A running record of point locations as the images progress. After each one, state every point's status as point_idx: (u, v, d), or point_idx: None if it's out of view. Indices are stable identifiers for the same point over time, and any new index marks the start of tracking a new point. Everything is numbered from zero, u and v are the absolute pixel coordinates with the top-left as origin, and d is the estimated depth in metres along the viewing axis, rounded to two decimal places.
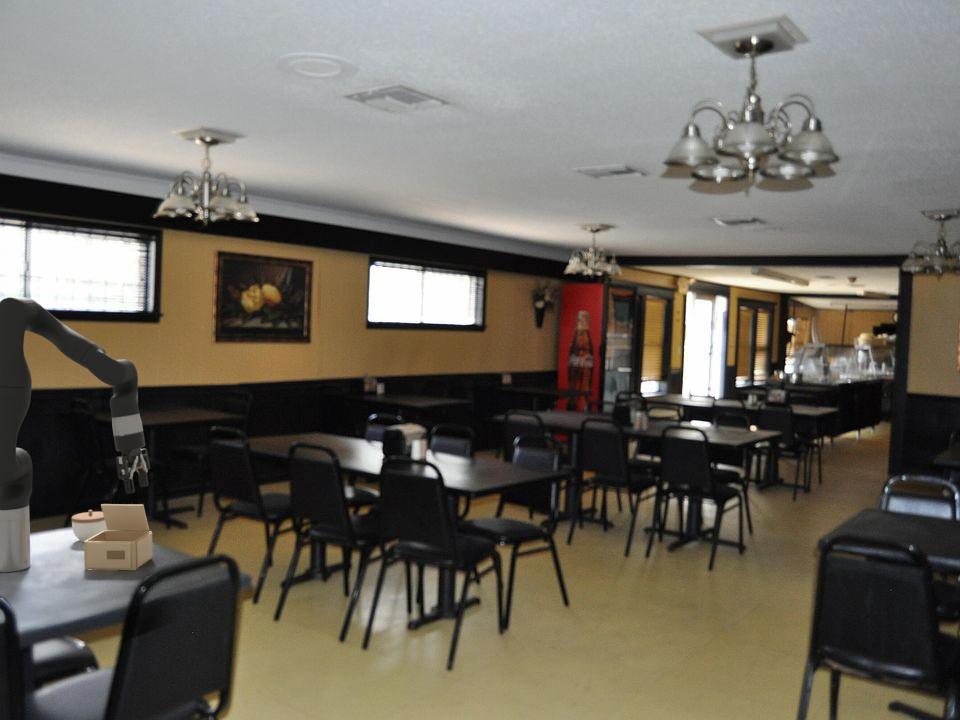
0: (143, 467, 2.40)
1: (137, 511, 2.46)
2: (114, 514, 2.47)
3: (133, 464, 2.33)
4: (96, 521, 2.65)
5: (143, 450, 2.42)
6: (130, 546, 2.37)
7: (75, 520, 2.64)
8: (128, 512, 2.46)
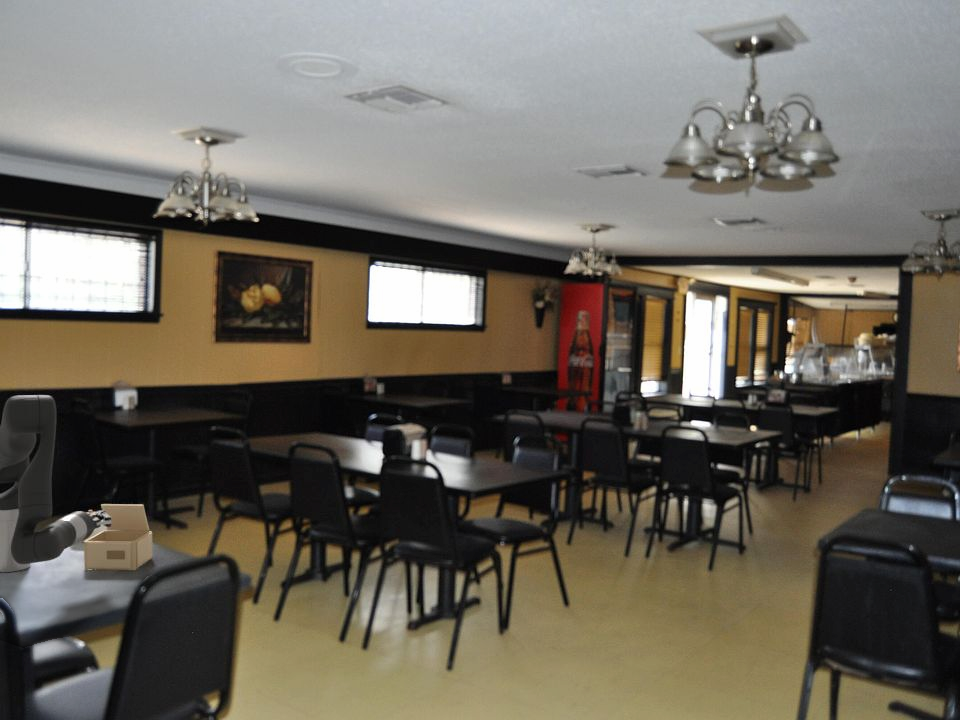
0: None
1: (137, 511, 2.46)
2: (114, 514, 2.47)
3: None
4: None
5: (106, 524, 2.24)
6: (130, 546, 2.37)
7: None
8: (128, 512, 2.46)
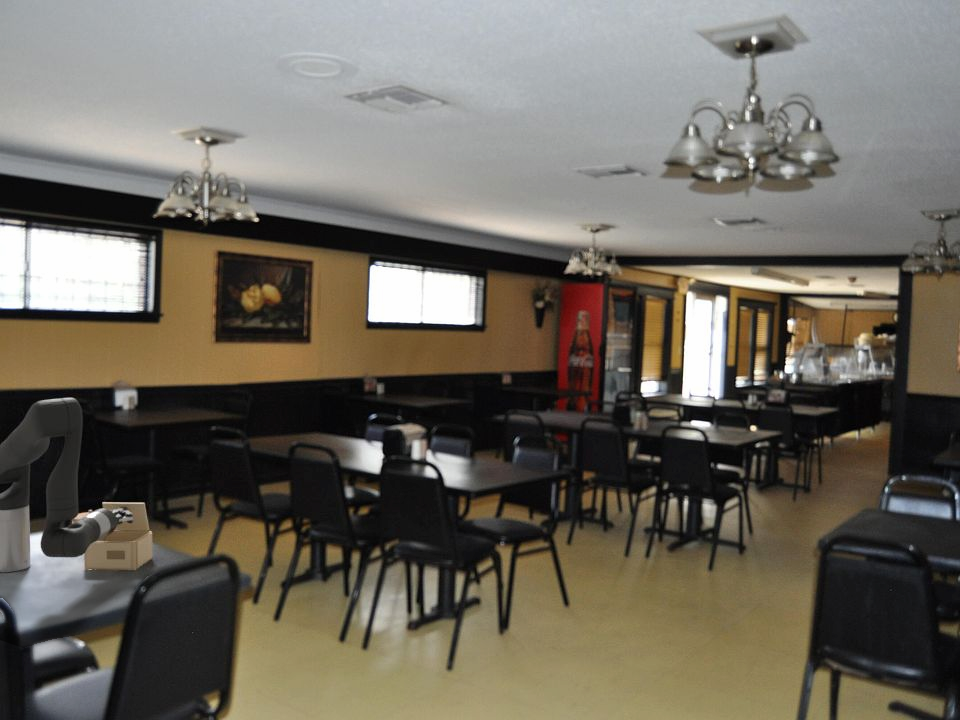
0: None
1: (138, 509, 2.47)
2: None
3: None
4: None
5: (128, 521, 2.37)
6: (130, 546, 2.37)
7: (75, 520, 2.64)
8: (129, 510, 2.47)
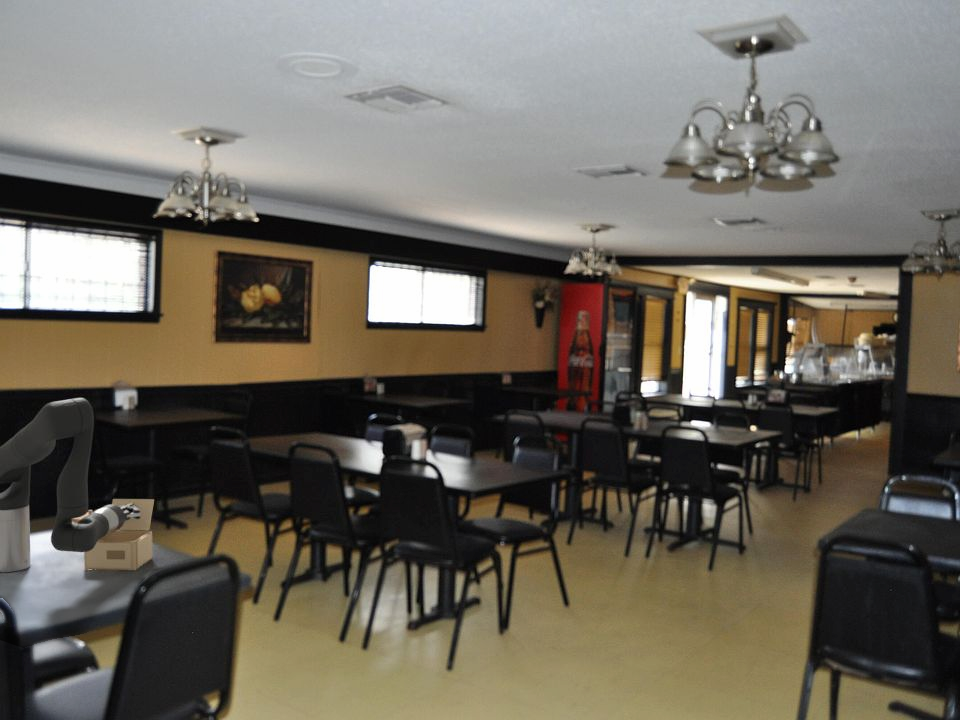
0: None
1: (145, 506, 2.52)
2: None
3: None
4: None
5: (136, 517, 2.42)
6: (130, 546, 2.37)
7: (75, 520, 2.64)
8: (137, 507, 2.52)
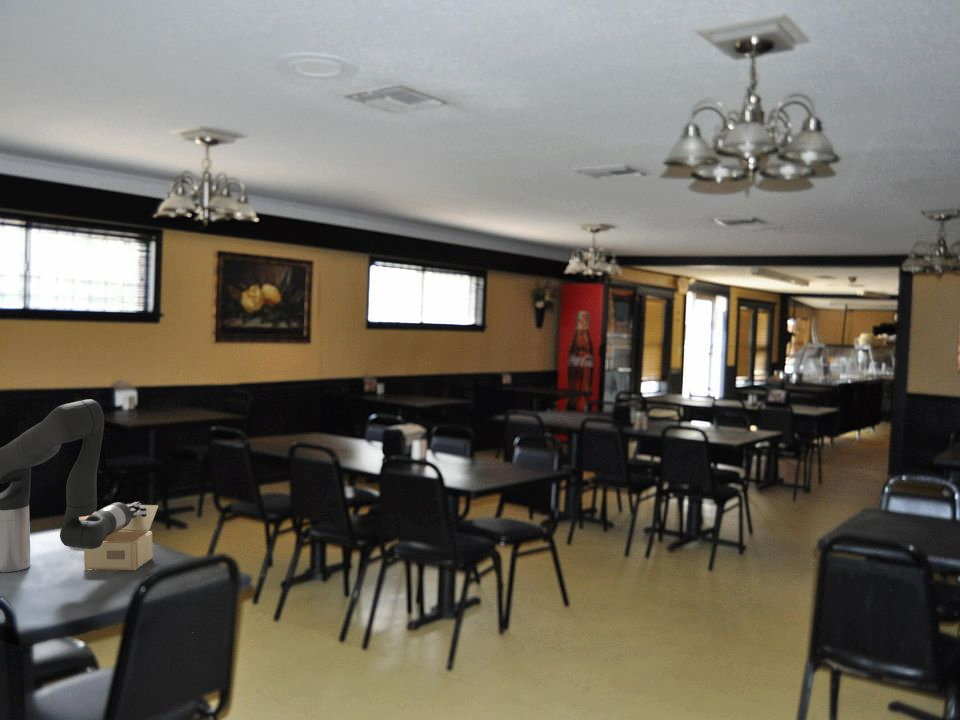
0: None
1: (149, 510, 2.55)
2: None
3: None
4: None
5: (142, 514, 2.46)
6: (130, 546, 2.37)
7: None
8: None
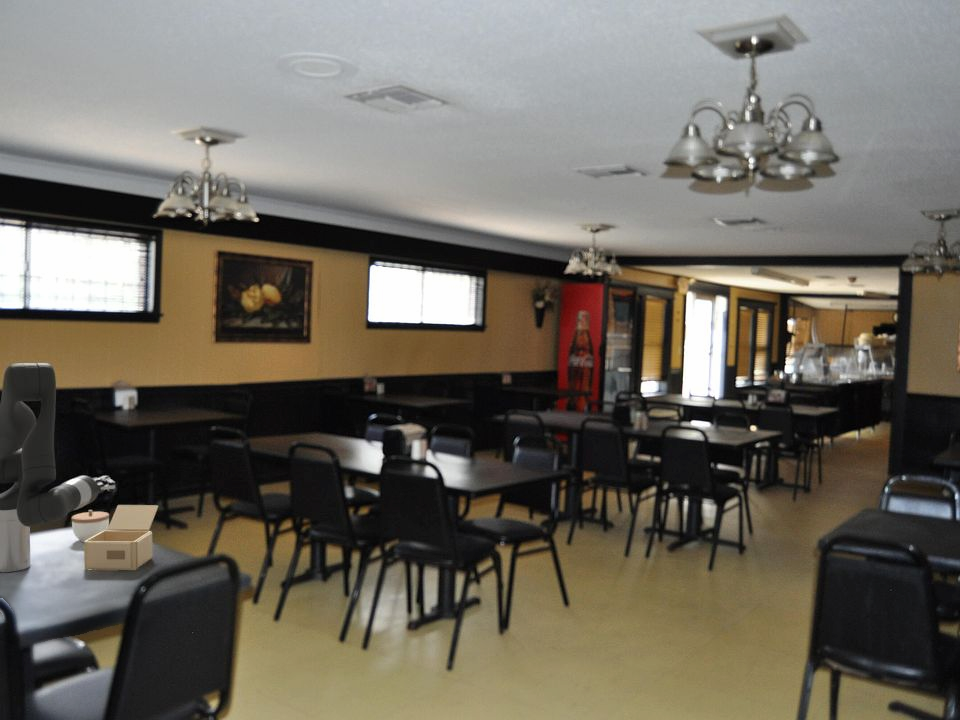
0: None
1: (149, 510, 2.55)
2: (124, 514, 2.54)
3: None
4: (96, 521, 2.65)
5: (110, 489, 2.26)
6: (130, 546, 2.37)
7: (75, 520, 2.64)
8: (140, 511, 2.54)
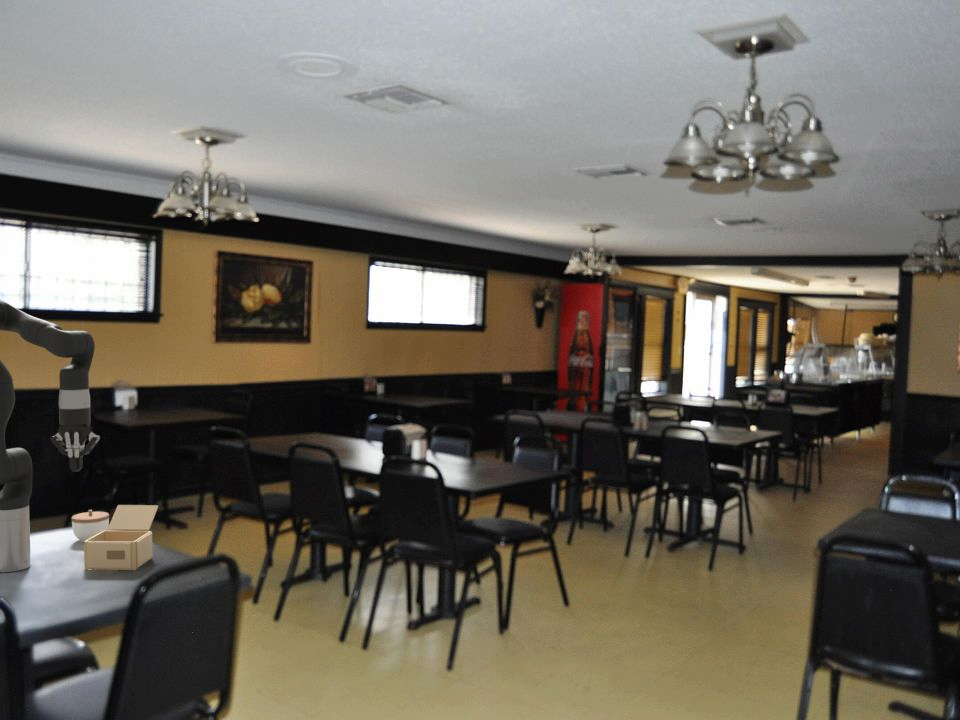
0: None
1: (149, 510, 2.55)
2: (124, 514, 2.54)
3: None
4: (96, 521, 2.65)
5: (93, 436, 2.28)
6: (130, 546, 2.37)
7: (75, 520, 2.64)
8: (140, 511, 2.54)
